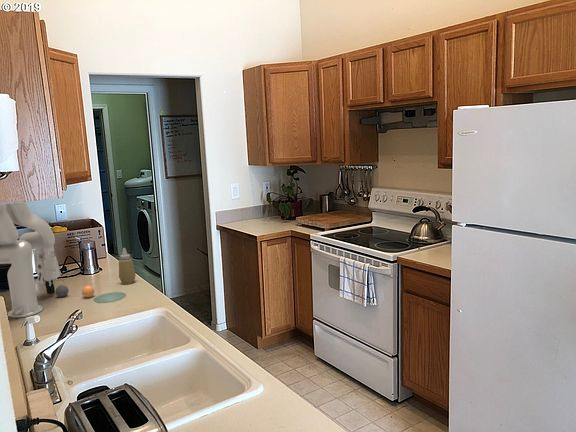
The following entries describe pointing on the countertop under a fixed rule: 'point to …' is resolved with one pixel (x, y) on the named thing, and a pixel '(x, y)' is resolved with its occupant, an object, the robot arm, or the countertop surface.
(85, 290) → the object ball
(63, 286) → the dark gray ball
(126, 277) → the squeeze bottle
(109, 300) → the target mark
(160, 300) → the countertop surface
